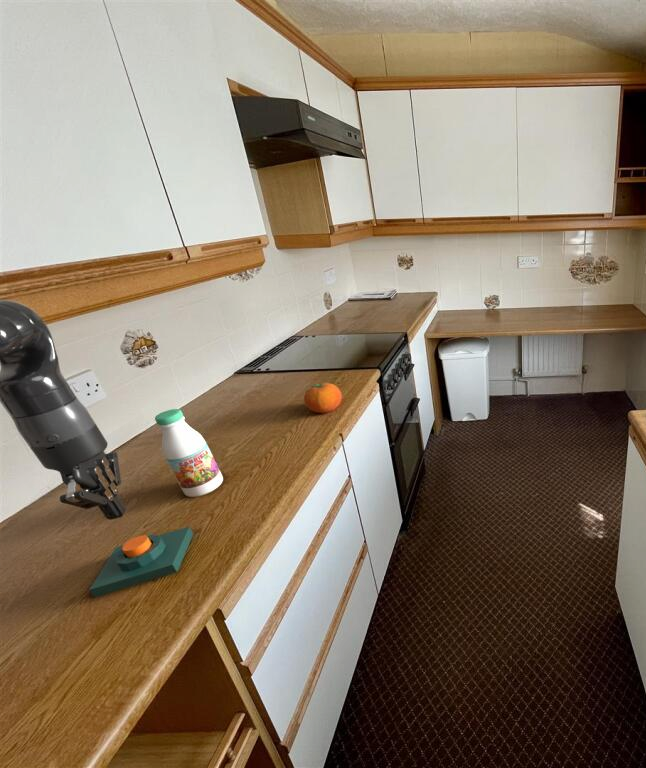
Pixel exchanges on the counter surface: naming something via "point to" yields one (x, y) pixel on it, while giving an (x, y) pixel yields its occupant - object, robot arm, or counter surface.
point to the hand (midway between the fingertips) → (117, 515)
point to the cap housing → (143, 563)
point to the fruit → (322, 398)
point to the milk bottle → (188, 455)
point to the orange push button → (136, 546)
